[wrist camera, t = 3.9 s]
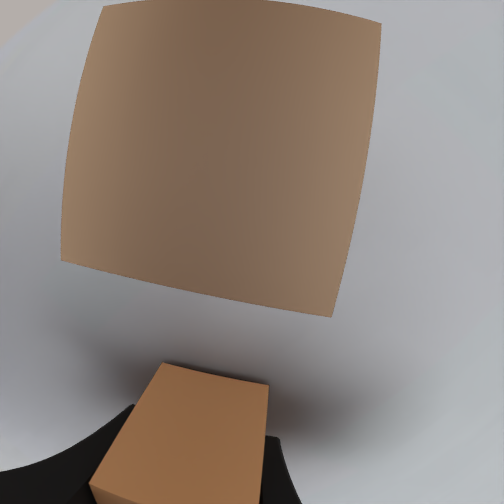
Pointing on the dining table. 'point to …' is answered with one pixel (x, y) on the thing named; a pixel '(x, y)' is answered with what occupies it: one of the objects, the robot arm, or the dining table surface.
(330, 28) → the walnut block
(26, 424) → the dining table surface
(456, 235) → the dining table surface
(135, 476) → the orange block
